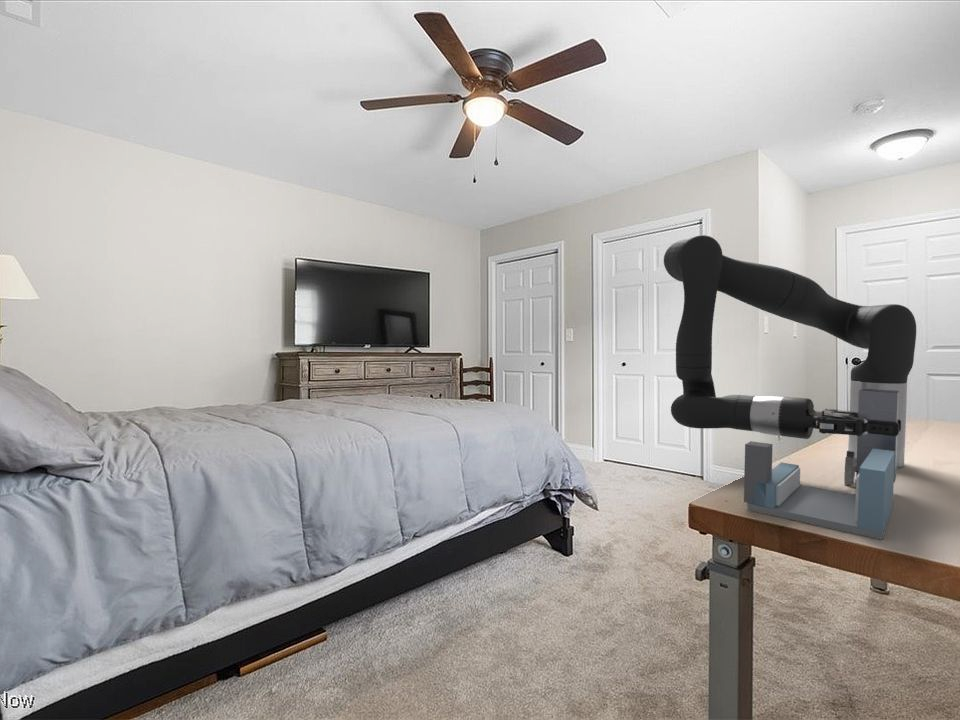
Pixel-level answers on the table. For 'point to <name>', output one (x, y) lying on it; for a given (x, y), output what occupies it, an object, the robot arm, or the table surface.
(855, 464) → the caliper
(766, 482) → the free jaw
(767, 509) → the vise base
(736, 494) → the table surface
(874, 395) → the steel block
